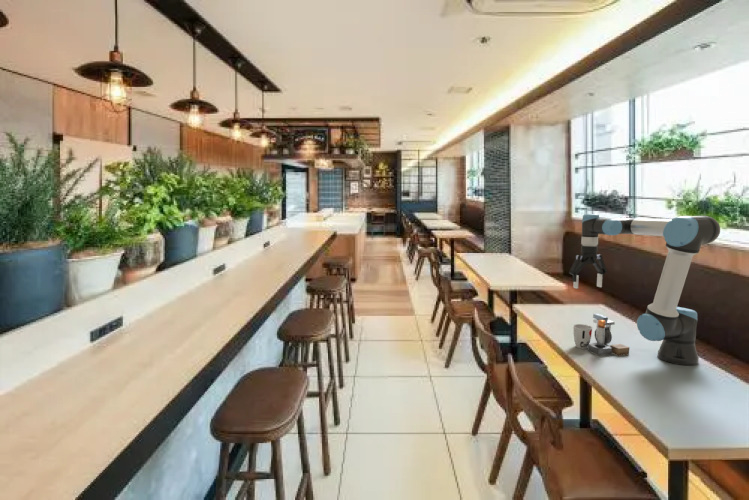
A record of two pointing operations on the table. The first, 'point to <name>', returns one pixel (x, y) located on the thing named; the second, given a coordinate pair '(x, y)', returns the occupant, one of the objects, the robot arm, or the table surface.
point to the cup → (582, 335)
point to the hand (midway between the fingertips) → (587, 287)
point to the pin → (600, 333)
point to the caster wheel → (607, 329)
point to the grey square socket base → (599, 349)
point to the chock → (620, 349)
